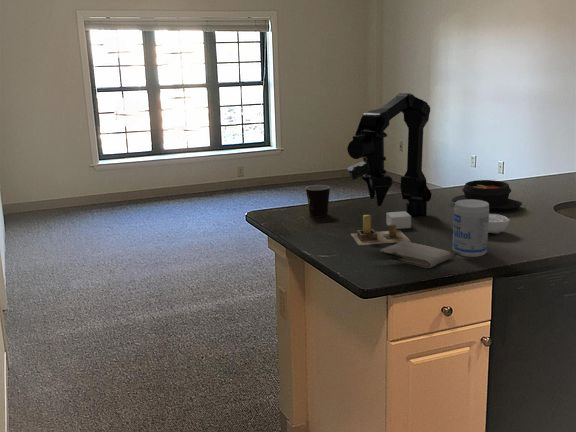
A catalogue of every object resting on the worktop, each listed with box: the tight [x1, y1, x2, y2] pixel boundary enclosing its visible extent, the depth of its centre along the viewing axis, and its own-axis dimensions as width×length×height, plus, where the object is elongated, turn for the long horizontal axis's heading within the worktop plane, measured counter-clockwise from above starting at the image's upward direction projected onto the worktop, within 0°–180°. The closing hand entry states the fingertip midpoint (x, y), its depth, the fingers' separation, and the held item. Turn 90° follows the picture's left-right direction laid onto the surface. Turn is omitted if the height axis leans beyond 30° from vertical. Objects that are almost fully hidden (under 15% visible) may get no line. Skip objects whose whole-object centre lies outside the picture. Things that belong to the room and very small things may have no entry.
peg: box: [362, 214, 372, 234], centre depth 195 cm, size 2×2×7 cm
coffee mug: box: [305, 184, 331, 218], centre depth 231 cm, size 12×9×10 cm
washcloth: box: [379, 241, 453, 269], centre depth 181 cm, size 12×18×3 cm, turn 45°
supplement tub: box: [451, 199, 490, 258], centre depth 180 cm, size 10×10×15 cm
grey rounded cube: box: [385, 210, 412, 230], centre depth 207 cm, size 6×6×5 cm
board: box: [350, 225, 411, 246], centre depth 196 cm, size 16×12×5 cm
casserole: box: [451, 179, 523, 211], centre depth 230 cm, size 25×19×8 cm
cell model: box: [488, 213, 511, 235], centre depth 199 cm, size 10×12×7 cm
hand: (375, 202), depth 201 cm, fingers open, 9 cm apart
